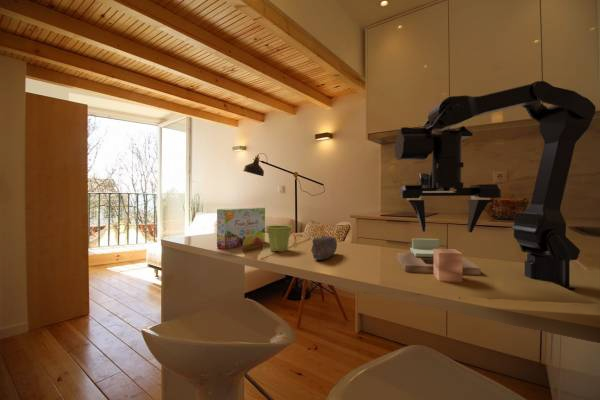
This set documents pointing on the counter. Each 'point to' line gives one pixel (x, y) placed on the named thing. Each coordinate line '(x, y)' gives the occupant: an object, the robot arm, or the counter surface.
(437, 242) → the slide cover
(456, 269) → the block
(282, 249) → the plant pot
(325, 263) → the counter surface
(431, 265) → the puzzle board
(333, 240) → the perforated stone tool
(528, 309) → the counter surface
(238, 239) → the snack box
